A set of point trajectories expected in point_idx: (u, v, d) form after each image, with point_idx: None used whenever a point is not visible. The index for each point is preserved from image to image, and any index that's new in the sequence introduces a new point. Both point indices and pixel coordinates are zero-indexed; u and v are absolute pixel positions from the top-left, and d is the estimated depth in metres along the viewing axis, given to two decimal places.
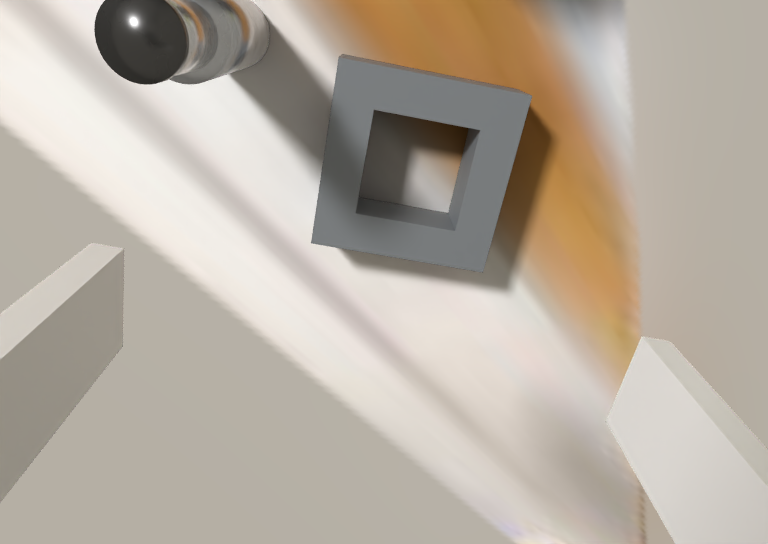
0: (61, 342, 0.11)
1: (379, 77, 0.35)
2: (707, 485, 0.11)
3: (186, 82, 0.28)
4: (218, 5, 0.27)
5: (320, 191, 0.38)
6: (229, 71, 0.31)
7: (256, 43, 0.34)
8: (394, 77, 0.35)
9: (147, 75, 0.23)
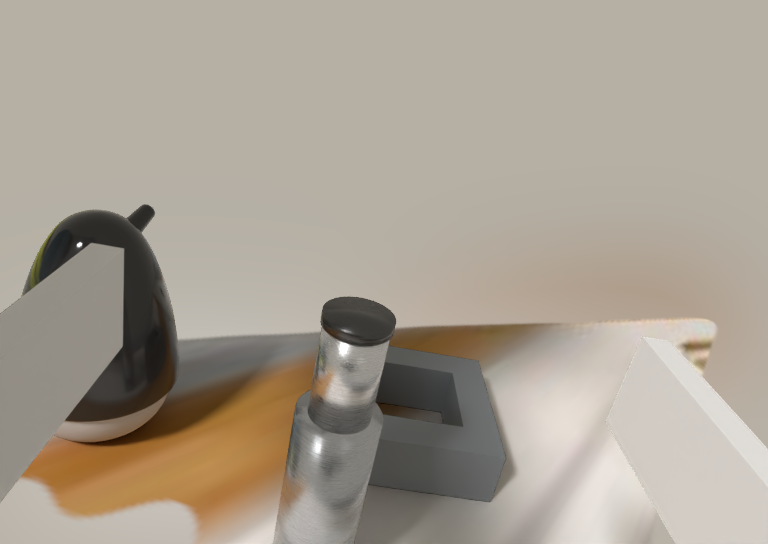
0: (61, 342, 0.11)
1: None
2: (707, 485, 0.11)
3: (381, 416, 0.29)
4: (310, 391, 0.30)
5: (452, 448, 0.38)
6: None
7: None
8: None
9: (388, 315, 0.27)
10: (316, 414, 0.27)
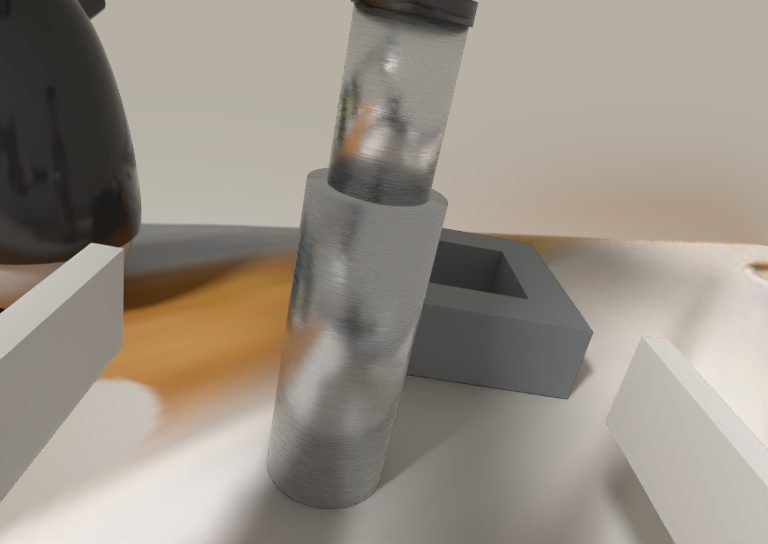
0: (61, 342, 0.11)
1: None
2: (707, 485, 0.11)
3: (444, 198, 0.18)
4: None
5: (520, 318, 0.28)
6: None
7: None
8: None
9: None
10: (343, 172, 0.16)
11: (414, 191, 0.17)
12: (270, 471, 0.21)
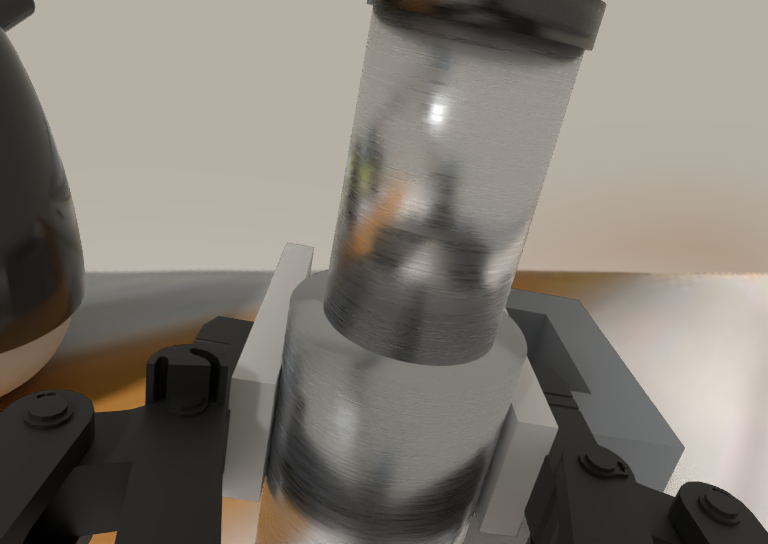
0: None
1: None
2: None
3: (517, 328, 0.11)
4: None
5: None
6: None
7: None
8: None
9: None
10: (352, 306, 0.09)
11: (477, 338, 0.09)
12: None
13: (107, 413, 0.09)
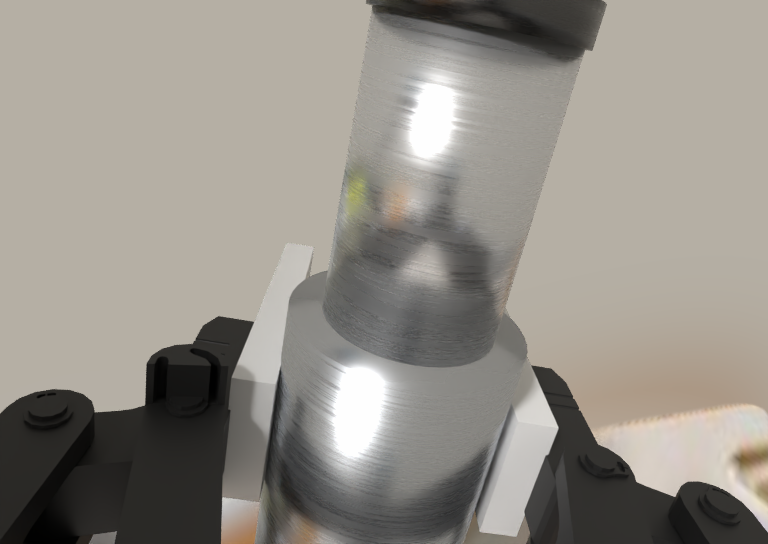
0: None
1: None
2: None
3: (517, 329, 0.11)
4: None
5: None
6: None
7: None
8: None
9: None
10: (352, 307, 0.09)
11: (476, 339, 0.09)
12: None
13: (107, 413, 0.09)
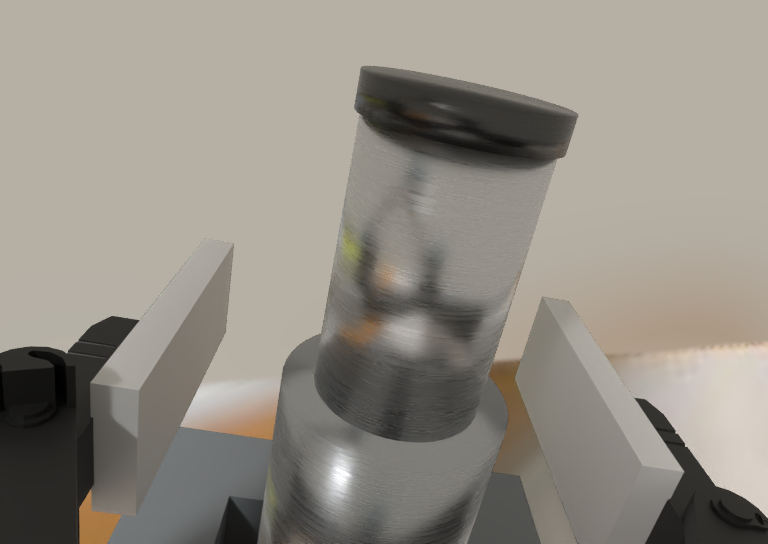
0: (199, 325, 0.13)
1: None
2: (575, 422, 0.12)
3: (499, 394, 0.12)
4: (320, 337, 0.12)
5: None
6: None
7: None
8: None
9: (545, 102, 0.09)
10: (341, 385, 0.10)
11: (459, 415, 0.10)
12: None
13: None
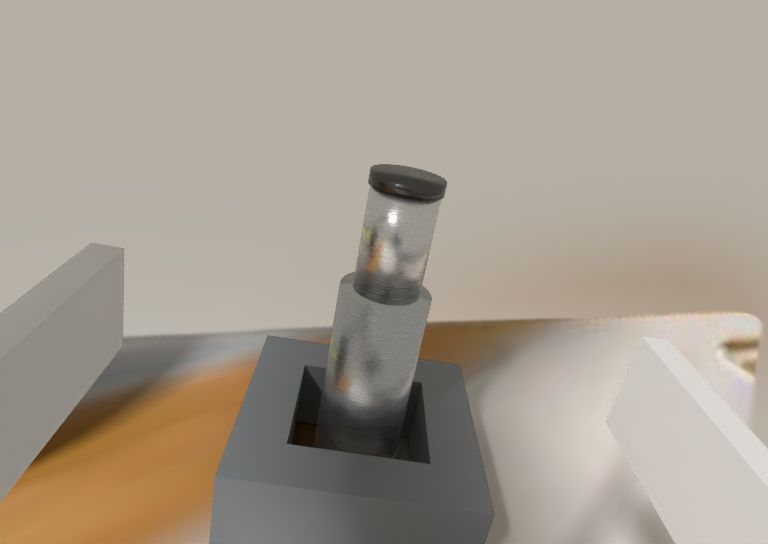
0: (61, 342, 0.11)
1: (244, 438, 0.26)
2: (707, 485, 0.11)
3: (429, 294, 0.28)
4: (353, 273, 0.29)
5: (410, 500, 0.25)
6: None
7: None
8: (246, 424, 0.27)
9: (438, 178, 0.26)
10: (364, 284, 0.26)
11: (409, 296, 0.26)
12: None
13: None
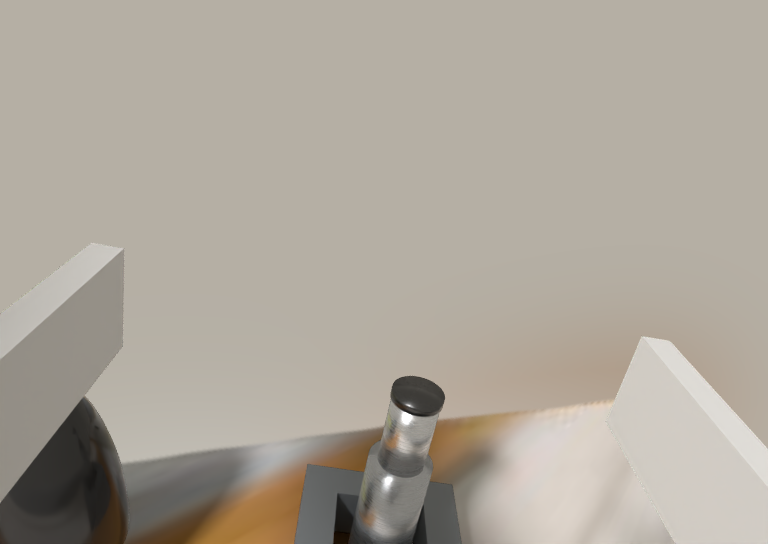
0: (61, 342, 0.11)
1: None
2: (707, 485, 0.11)
3: (431, 462, 0.39)
4: (377, 442, 0.40)
5: None
6: None
7: None
8: None
9: (438, 391, 0.37)
10: (386, 462, 0.37)
11: (417, 470, 0.37)
12: None
13: None
